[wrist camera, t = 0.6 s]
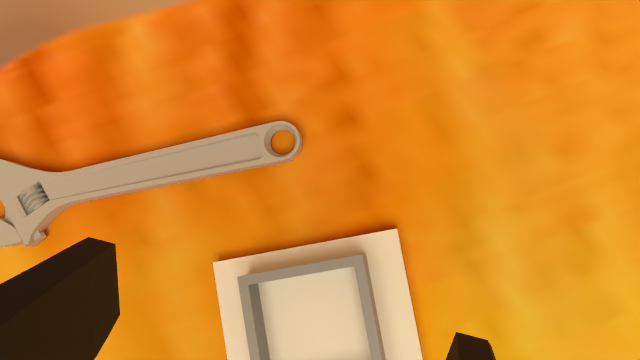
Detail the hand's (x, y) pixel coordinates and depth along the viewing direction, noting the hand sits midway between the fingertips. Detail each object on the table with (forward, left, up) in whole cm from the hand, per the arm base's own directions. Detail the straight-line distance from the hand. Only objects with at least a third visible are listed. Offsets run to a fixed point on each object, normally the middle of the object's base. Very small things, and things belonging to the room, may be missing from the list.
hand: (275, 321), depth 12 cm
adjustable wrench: (+8, +16, -25) cm, 31 cm away
